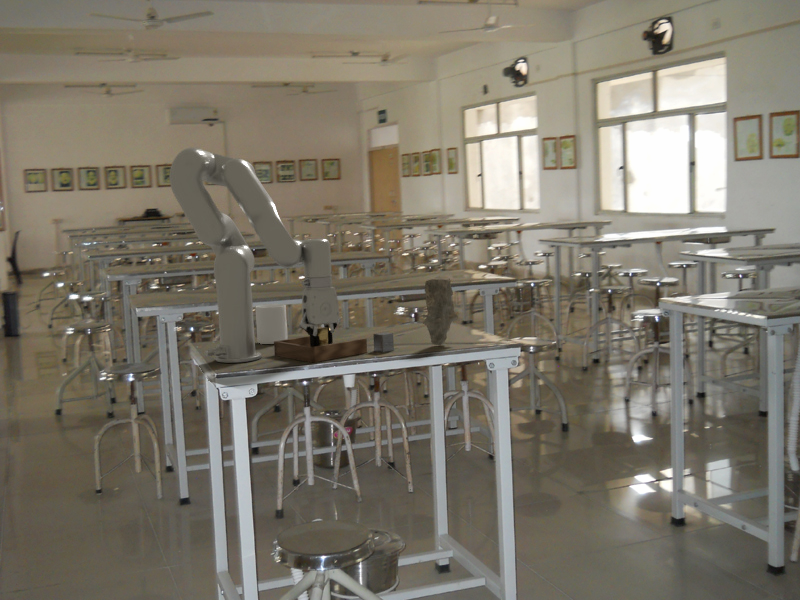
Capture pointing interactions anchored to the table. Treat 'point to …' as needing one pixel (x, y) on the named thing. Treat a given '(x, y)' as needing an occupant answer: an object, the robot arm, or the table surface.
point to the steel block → (383, 342)
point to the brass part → (323, 335)
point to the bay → (318, 349)
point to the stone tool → (439, 308)
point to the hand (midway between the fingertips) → (321, 347)
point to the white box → (271, 323)
